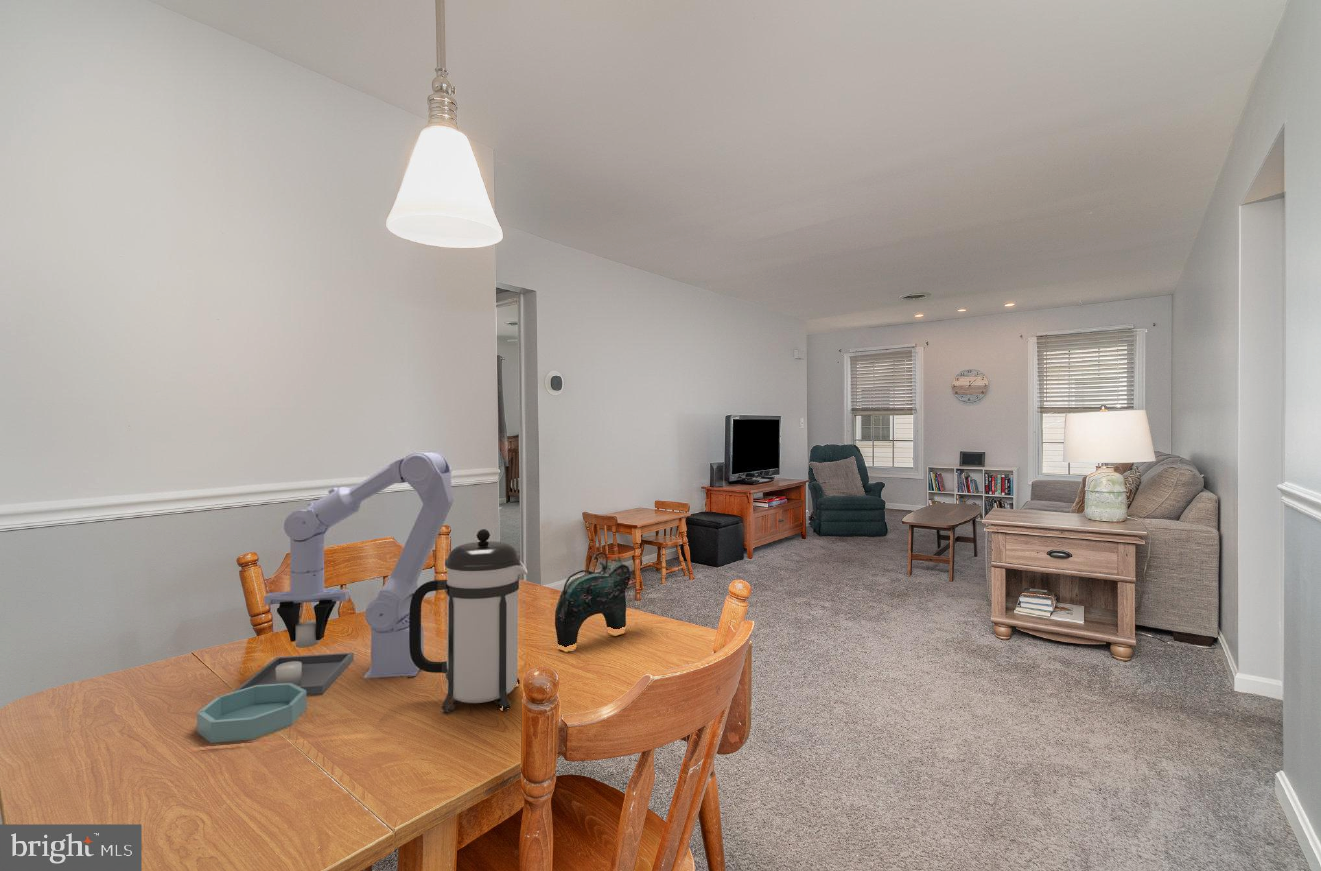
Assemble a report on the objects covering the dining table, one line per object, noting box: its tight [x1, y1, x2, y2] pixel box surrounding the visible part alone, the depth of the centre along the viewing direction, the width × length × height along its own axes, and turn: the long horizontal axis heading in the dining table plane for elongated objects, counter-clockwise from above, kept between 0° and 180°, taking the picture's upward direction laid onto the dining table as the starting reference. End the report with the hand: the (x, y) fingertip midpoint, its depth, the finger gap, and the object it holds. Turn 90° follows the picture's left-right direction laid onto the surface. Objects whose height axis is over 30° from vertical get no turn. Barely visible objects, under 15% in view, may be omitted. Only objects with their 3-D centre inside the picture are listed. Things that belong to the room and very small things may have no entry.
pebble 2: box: [294, 619, 320, 649], centre depth 114 cm, size 4×4×4 cm
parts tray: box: [232, 652, 355, 696], centre depth 110 cm, size 14×16×2 cm
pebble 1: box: [276, 661, 302, 686], centre depth 107 cm, size 4×4×4 cm
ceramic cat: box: [554, 551, 631, 647], centre depth 133 cm, size 20×6×20 cm, turn 136°
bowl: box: [196, 683, 308, 747], centre depth 94 cm, size 13×13×4 cm
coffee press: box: [409, 528, 529, 714], centre depth 103 cm, size 17×16×30 cm
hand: (307, 639), depth 114 cm, fingers closed on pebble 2, 4 cm apart
